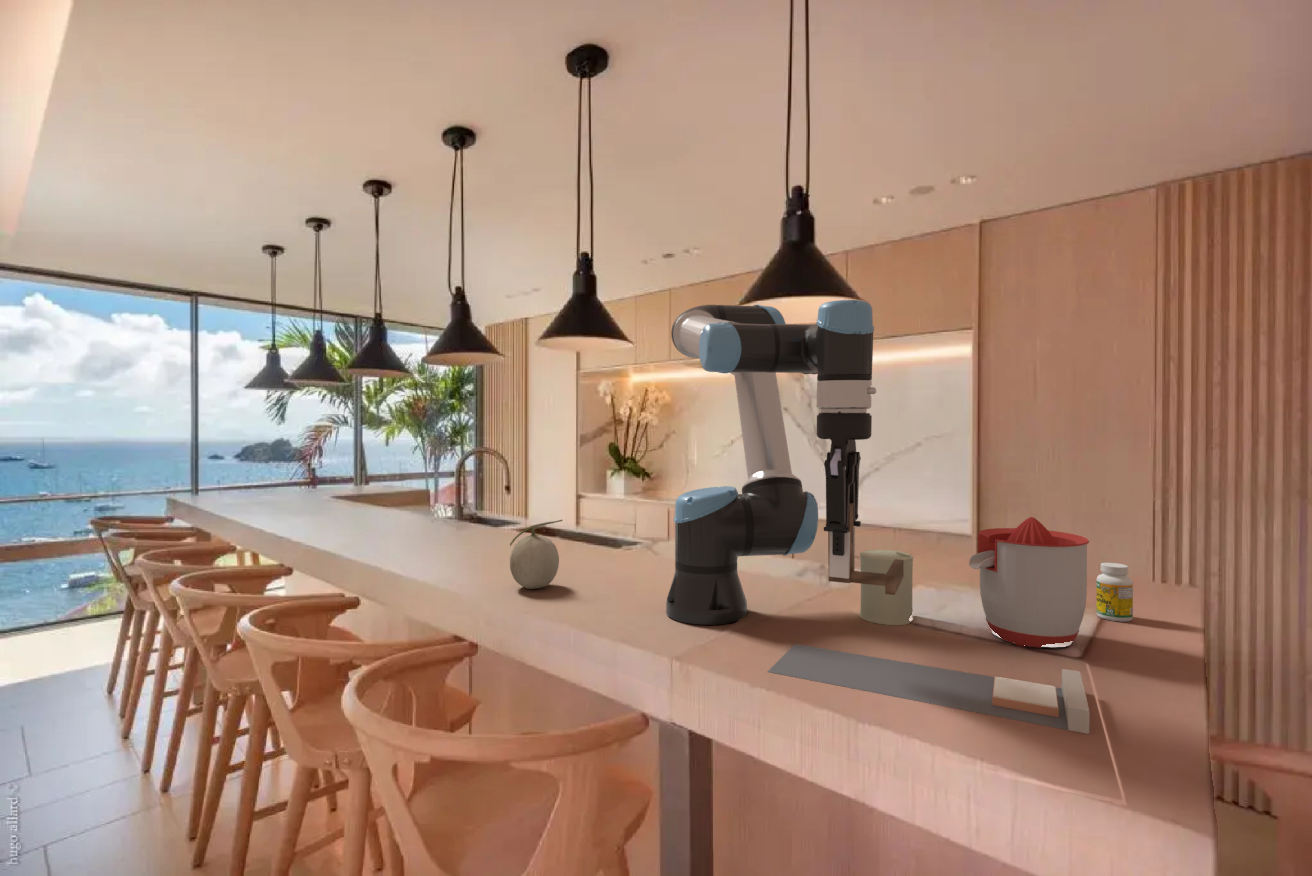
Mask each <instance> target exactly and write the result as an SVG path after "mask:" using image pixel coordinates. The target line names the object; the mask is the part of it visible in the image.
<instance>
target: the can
mask: <svg viewBox="0 0 1312 876" xmlns="http://www.w3.org/2000/svg"><path fill="white" fill-rule="evenodd" d="M859 557H860V572H871V573H882V574H886V573H887V572H888V570H889V568H890V566H891V565H892V563H893V561H894V560H895V559H899V560H903V569H904V577H903V579H902V581H901V583H900V585H899V587H898V590H897V592H896V594H895V595H890V594H885V586H881V585H871V584H861V583H860V609H859V610H860V611H859V612H860V613H859V617H860V618H861V619H862V620H865V621H866V622H869V623H872V624H878V625H882V624H885V625H884V626H904V625H909V624H911V623H910V621H909V618H910V616H911V615H912V612H913V571H914V570H913V566H914V563H913V562H914V555H912V554H911V553H908V552H904V551H899V550H893V549H892V550H891V549H870V550H864V551H861V552H860V554H859Z"/></svg>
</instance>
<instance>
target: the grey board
mask: <svg viewBox="0 0 1312 876" xmlns="http://www.w3.org/2000/svg"><path fill="white" fill-rule="evenodd" d="M767 673H769V674H770V673H772V674H776V675H780V676H787V677H791V678H797V679H802V680H807V681H812V682H818V683H822V684H827V685H833V686H837V687H838V686H839V687H842V688H848V689H851V690H852V689H854V690H857V691H863V692H869V693H873V694H874V693H875V694H880V695H884V696H889V697H893V698H899V699H905V700H910V701H915V702H921V703H926V704H929V705H936V706H941V707H945V708H951V709H957V710H961V711H966V712H967V711H968V712H970V713H971V712H972V713H976V714H982V715H988V716H993V717H997V718H1004V719H1007V720H1012V721H1013V720H1014V721H1020V722H1024V723H1027V724H1028V723H1029V724H1032V725H1033V724H1035V725H1038V726H1039V725H1040V726H1044V727H1050V728H1055V729H1059V730H1060V729H1061V730H1065V731H1071V732H1075V733H1081V734H1084V735H1085V734H1086V735H1090V708H1089V704H1088V699H1087V695H1086V690H1085V687H1084V682H1083V678H1082V675H1081V671H1079V670H1073V669H1072V670H1071V669H1066V668H1062V669H1061V687H1058V686H1055V688H1056V692H1057V699H1058V707H1059V717H1054V716H1049V715H1044V714H1038V713H1033V712H1028V711H1022V710H1017V709H1012V708H1006V707H1001V706H996V705H992V696H993V687H994V677H995V676H989V675H984V674H977V673H972V672H964V671H960V670H955V669H948V668H942V667H936V666H931V665H924V664H918V663H912V662H907V661H901V660H894V659H888V658H883V657H876V656H870V655H864V654H859V653H853V652H852V653H851V652H848V651H847V652H846V651H840V650H834V649H828V648H822V647H815V646H811V645H804V644H798V643H794V644H793V645H792V646H791V647H790V649H788V650H787V651H786V652H785V653H784V654H783V655H782V656H781V657H780V658H779V659H778V660H777V661H776V662H775V663H774V664H773V665H772V666H771V667H770V668H769V670H767Z"/></svg>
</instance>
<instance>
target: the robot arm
mask: <svg viewBox="0 0 1312 876" xmlns="http://www.w3.org/2000/svg"><path fill="white" fill-rule="evenodd" d="M817 311H818V312H817V319H816V323H812V324H805V323H803V324H797V323H796V324H795V323H792V324H791V323H787V322H786V321H785V318H784V316H783V314H782V312H780V310H779V309H777V308H776V307H774V306H769V305H768V306H767V305H761V304H753V305H740V304H739V305H731V304H730V305H729V304H701V305H697V306H694V307H691V308H689V309H687V310H685V311H683V312H681V313H680V314H679V315H678V316H677V317H676V319H675V320H674V321H673V323H672V326H671V331H670V332H671V333H670V334H671V340H672V343H673V345H674V347H675V349H676V351H678V352H680V353H681V354H682V355H684V356H685V357H687V358H691V359H699V362H700V364H701V367H702V369H703V370H704V371H706V372H709V373H719V374H731V375H732V376H734V383H735V390H736V398H737V406H738V412H739V421H740V428H741V435H742V443H743V449H744V450H743V451H744V458H745V466H746V473H747V480H746V481H745V483H744V484H743V485H742V487H741V493H739V492H738V490H737V488H736V487H735V486H729V485H727V486H724V485H723V486H710V487H704V488H698V489H692V490H689V491H685V492H683V493H682V494H680V495H679V496H677V498H676V501H675V505H674V518H673V523H674V555H675V556H674V557H675V558H674V559H675V560H674V563H675V564H674V566H675V567H674V574H673V578H672V582H671V585H670V588H669V590H668V595H667V597H666V601H665V607H666V609H665V614H666V615H667V616H668V617H669V618H671V619H673V620H675V621H678V622H681V623H686V624H691V625H699V626H700V625H703V626H706V625H707V626H709V625H710V626H711V625H712V626H713V625H714V626H715V625H716V626H717V625H724V624H731V623H736V622H738V621H741V620H742V619H744V618H745V617H746V616H747V614H748V601H747V598H746V594H745V592H744V589H743V586H742V583H741V580H740V577H739V573H738V558H739V557H755V556H788V555H796V554H797V555H798V554H803V553H806V552H807V551H808V550H809V549H810V548H811V547H812V545H813V543H814V541H815V539H816V536H817V531H818V528H819V527H818V525H819V507H818V502H817V498H816V497H815V495H814V494H813V493H812V492H809V491H804V489H803V484H802V480H801V479H800V478H799V477H797V476H796V475H794V474H793V473H792V466H791V460H790V454H789V453H790V452H789V448H788V442H787V441H788V440H787V435H786V428H785V424H784V423H785V422H784V416H783V411H782V409H783V408H782V403H781V398H780V397H781V396H780V391H779V386H778V385H779V384H778V378H777V374H778V373H779V374H780V373H783V374H786V373H787V374H790V373H791V374H792V373H793V374H795V373H796V374H802V375H817V377H816V408H817V409H818V410H820V412H818V414H817V415H816V437H817V438H818V439H821V440H830V449H829V451H828V452H826V459H825V460H824V463H823V466H824V471H825V522H826V523H825V526H823V531H824V532H828V531H829V532H830V545H829V568H828V577H829V576H830V577H838V578H846V579H849V578H850V532H848V531H849V527H848V522H849V503H853V516H854V571H856V570H855V569H856V568H855V567H856V566H855V562H856V556H855V555H856V527H861V524H862V523H861V522H862V521H861V520H858V519H859V486H860V484H859V482H860V481H859V479H860V478H859V477H860V465H861V452H860V451H857V443H856V441H857V440H858V441H859V440H863V441H864V440H868V439H869V440H870V438H871V437H872V425H873V424H872V421H873V420H872V419H873V418H872V415H871V413H869V412H867V411H868V409H871V408H872V395H875V394H876V393H877V389H876V387H874V386H873V385H872V384H873V383H872V380H873V360H874V359H873V356H874V355H873V354H874V331H875V326H874V323H873V322H874V321H873V318H874V317H873V307H872V305H871V304H870V303H869V302H868V301H866V300H862V299H861V300H859V299H840V300H833V301H832V300H830V301H827V302H824V303H821V304H820V306H819V307H818V310H817Z"/></svg>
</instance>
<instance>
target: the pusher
mask: <svg viewBox="0 0 1312 876" xmlns="http://www.w3.org/2000/svg"><path fill="white" fill-rule="evenodd" d="M848 527H849V531H848V532H850V578H849V579H846V578H838V577H830V576H829V575H828V582H835V583H844V584H851V583H853V584H854V583H855V584H860V585H861V584H871V585H881V586H885V594H890V595H895V594H896V592H897V590H898V587H899V585H900V583H901V581H902V579H903V577H904V569H903V560H899V559H895V560H894V561H893V563H892V565H891V566H890V568H889V570H888V572H887V573H886V574H882V573H871V572H861V570H859V571H858V570H855V571H854V527H855V526H854V516H853V503H849V522H848ZM827 533H828V534H827V540H828V541H827V543H828V545H827V546H828V554H827V555H828V559H827V560H828V563H827V564H828V569H829V545H830V532H829V531H827Z"/></svg>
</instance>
